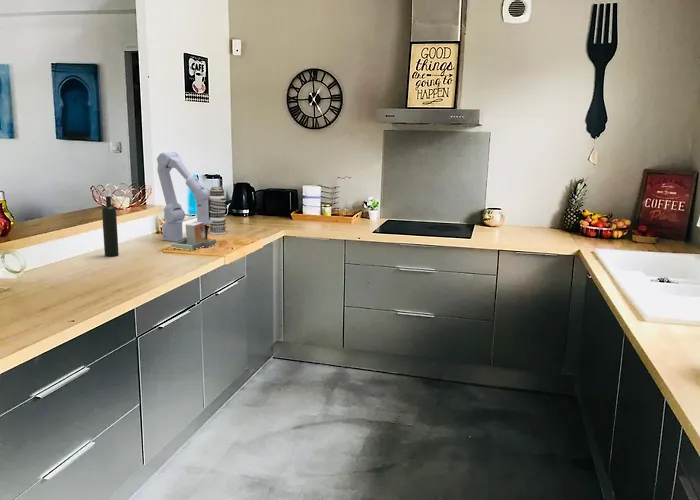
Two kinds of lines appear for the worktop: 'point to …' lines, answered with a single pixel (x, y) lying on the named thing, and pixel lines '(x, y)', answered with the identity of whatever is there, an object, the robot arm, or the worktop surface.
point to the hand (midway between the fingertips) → (203, 240)
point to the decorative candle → (217, 210)
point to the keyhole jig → (183, 241)
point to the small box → (195, 233)
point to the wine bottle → (110, 227)
